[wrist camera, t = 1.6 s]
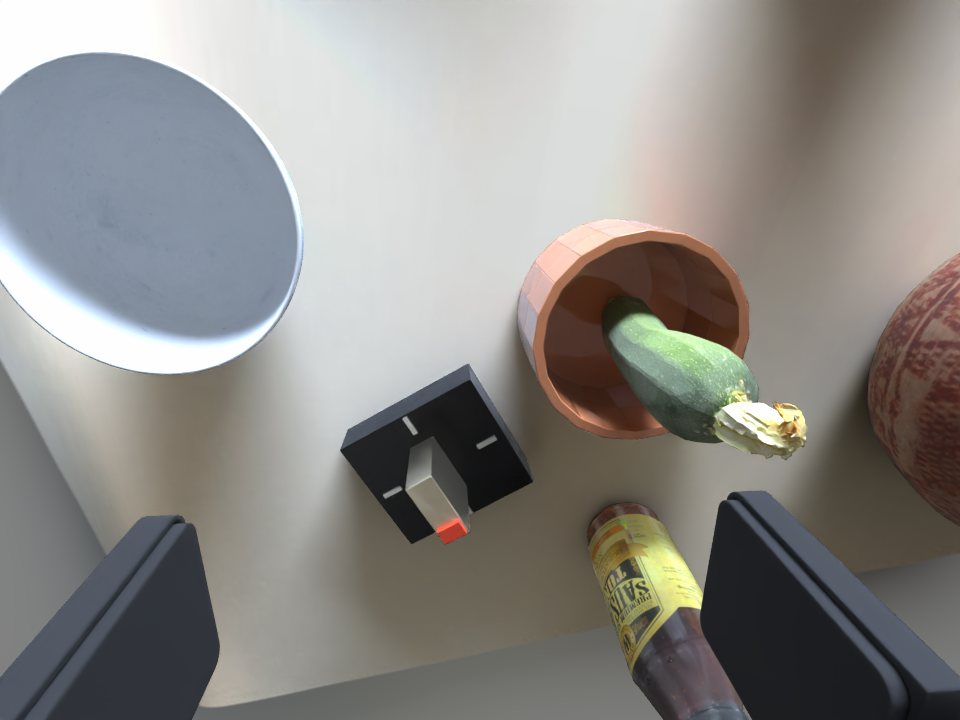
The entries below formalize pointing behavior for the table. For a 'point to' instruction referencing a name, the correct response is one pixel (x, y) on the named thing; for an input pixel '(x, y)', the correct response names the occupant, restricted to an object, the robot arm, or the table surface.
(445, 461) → the hob knob
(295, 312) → the table surface
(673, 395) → the vegetable
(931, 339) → the jug
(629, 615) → the sauce bottle
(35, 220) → the chinaware
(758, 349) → the table surface
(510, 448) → the panel
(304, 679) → the table surface
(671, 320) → the terracotta pot
